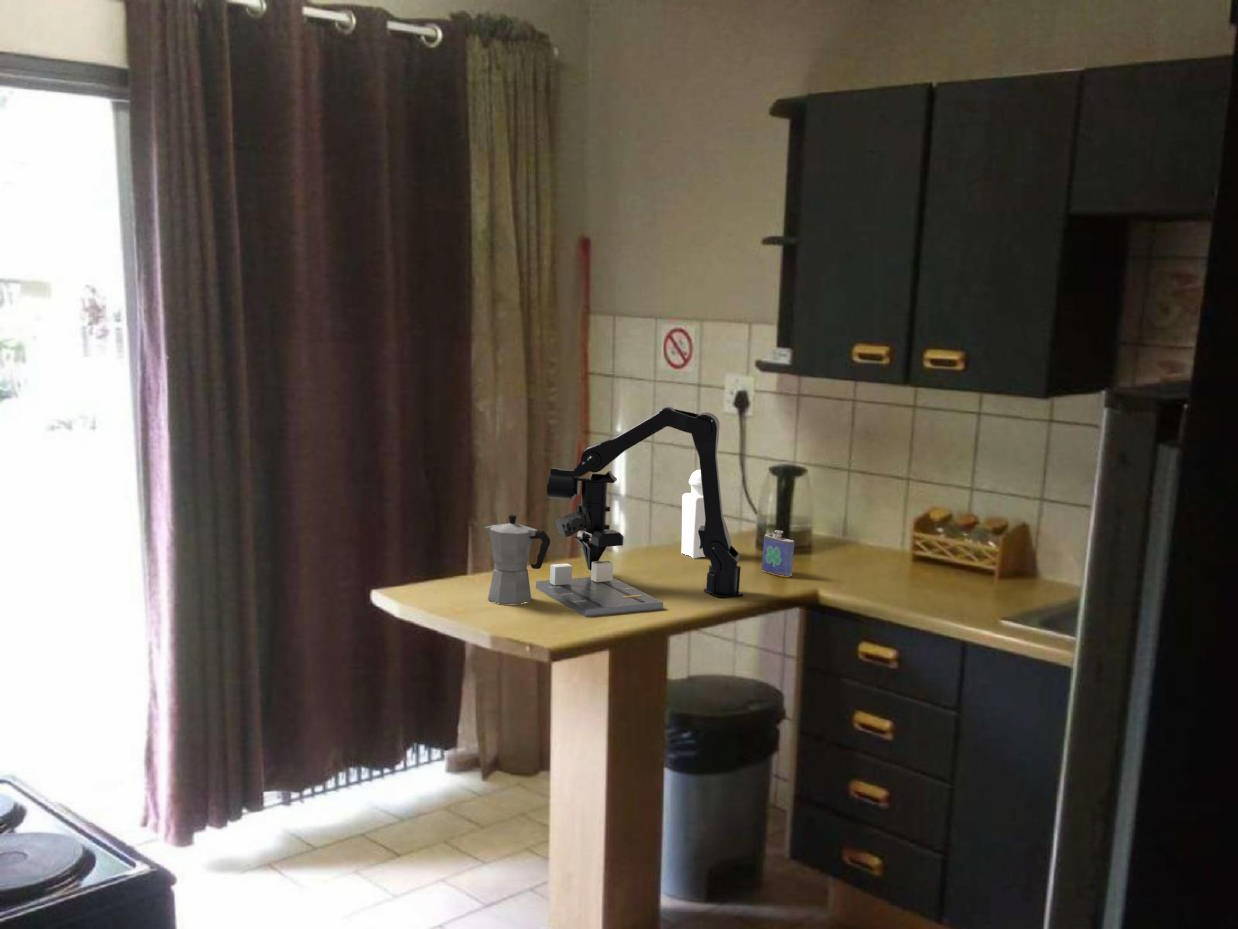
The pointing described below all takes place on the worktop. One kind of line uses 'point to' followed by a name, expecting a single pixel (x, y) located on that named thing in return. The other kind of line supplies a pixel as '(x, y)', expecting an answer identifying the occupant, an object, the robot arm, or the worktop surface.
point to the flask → (777, 554)
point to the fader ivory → (602, 571)
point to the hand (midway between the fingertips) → (590, 569)
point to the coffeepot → (513, 560)
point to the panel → (600, 597)
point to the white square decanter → (693, 517)
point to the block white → (560, 574)
